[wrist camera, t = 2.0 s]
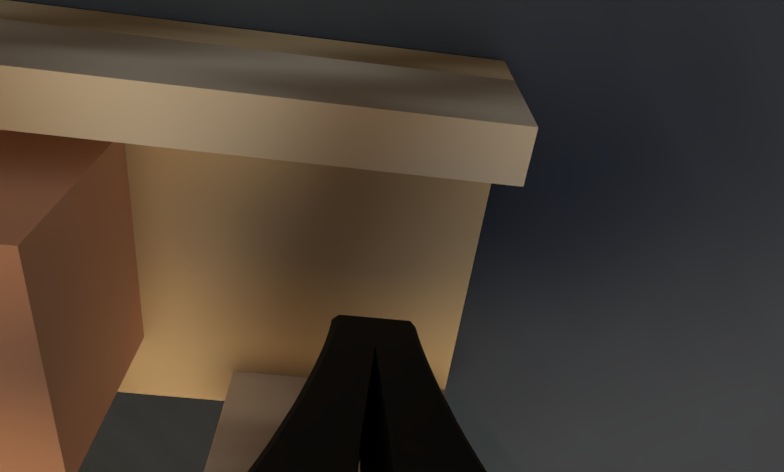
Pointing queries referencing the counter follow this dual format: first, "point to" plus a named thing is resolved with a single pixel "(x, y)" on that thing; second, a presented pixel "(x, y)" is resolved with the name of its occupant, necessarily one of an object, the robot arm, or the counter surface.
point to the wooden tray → (273, 190)
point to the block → (63, 295)
